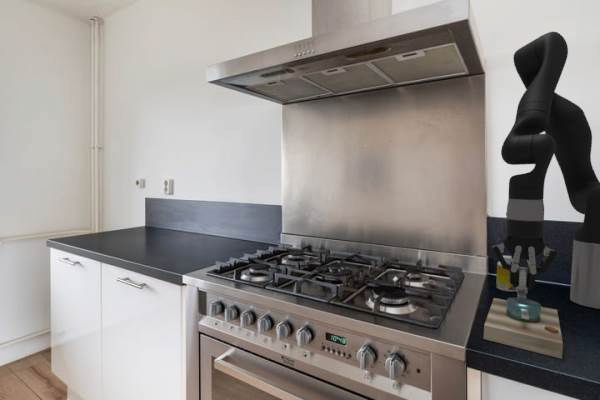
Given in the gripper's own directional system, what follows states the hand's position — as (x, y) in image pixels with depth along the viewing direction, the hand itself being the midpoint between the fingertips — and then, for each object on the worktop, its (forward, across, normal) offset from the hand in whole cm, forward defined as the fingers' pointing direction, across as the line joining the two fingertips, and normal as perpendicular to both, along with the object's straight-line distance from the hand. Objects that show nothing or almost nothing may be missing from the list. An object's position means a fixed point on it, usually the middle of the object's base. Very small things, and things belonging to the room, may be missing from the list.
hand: (521, 287), depth 81 cm
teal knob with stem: (+4, -1, -7) cm, 8 cm away
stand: (+7, -1, -9) cm, 12 cm away
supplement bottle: (+8, -1, +22) cm, 24 cm away
